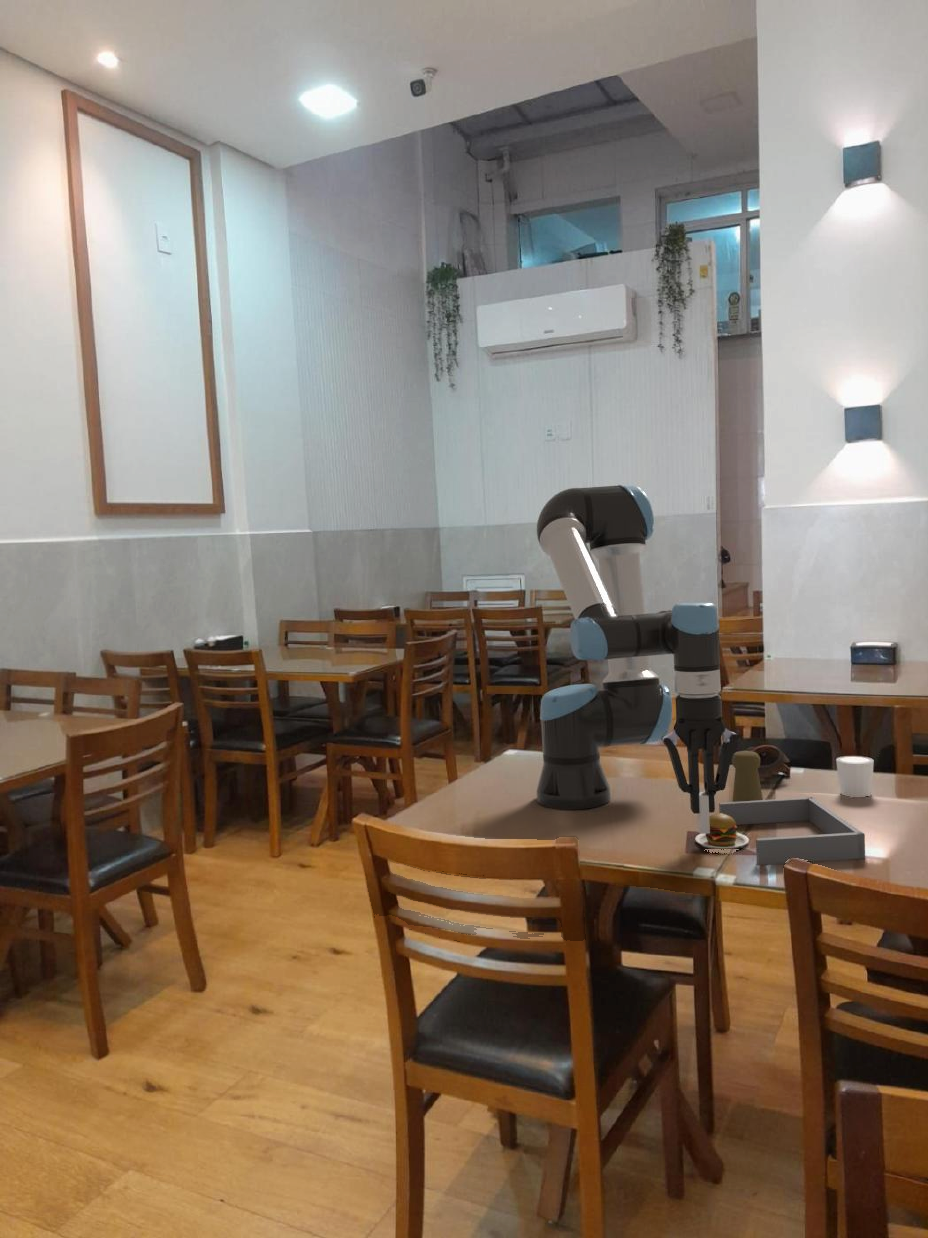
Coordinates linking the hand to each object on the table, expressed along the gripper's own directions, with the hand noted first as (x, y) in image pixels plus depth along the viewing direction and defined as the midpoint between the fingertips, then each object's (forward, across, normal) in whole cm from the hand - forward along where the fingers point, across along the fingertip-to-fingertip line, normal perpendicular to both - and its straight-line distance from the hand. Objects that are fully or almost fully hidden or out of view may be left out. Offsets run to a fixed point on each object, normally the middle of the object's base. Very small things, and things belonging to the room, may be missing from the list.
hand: (703, 831), depth 158 cm
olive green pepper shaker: (+3, +14, +20) cm, 25 cm away
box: (+3, +14, 0) cm, 15 cm away
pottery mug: (+3, +24, +42) cm, 48 cm away
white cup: (+3, +36, +26) cm, 45 cm away
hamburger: (+3, +3, +1) cm, 5 cm away
